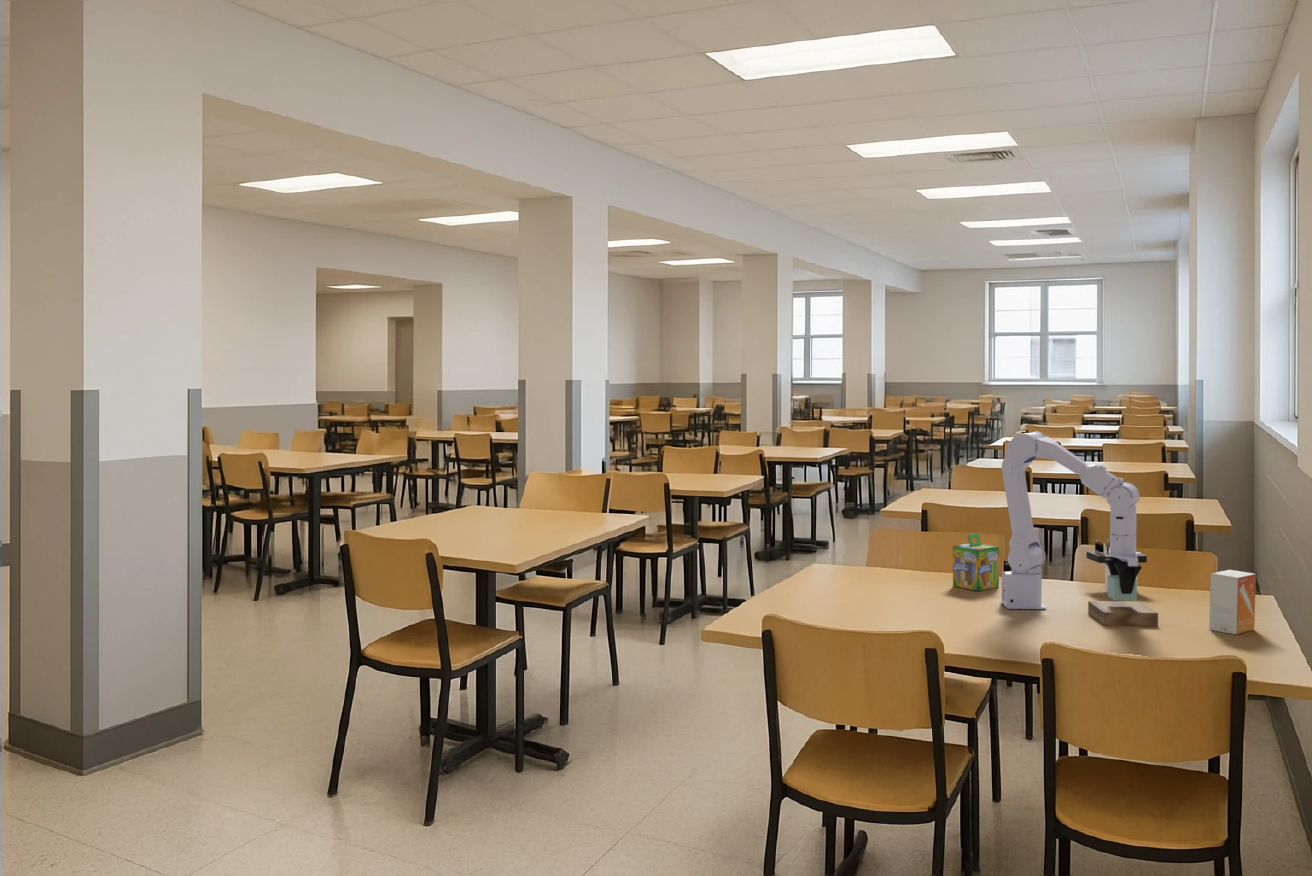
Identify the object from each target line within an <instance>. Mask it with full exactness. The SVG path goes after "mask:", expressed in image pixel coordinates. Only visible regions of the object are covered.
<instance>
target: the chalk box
mask: <svg viewBox="0 0 1312 876" xmlns="http://www.w3.org/2000/svg"><path fill="white" fill-rule="evenodd" d="M973 538H974V539H976V542H973ZM967 540H968V543H962V544H956V545H952V587H953V586H956V587H955V588H958V587H960V589H967V590H972V591H977V592H982V591H987V590H993V589H998V588H1000V582H999V581H1000V577H999V576H1000V547H998V546H993V545H989V544H982V543H981V537H980V534H979V533H978V532H975V533H970V534H969V533H968V534H967Z"/></svg>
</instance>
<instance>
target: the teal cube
mask: <svg viewBox="0 0 1312 876" xmlns="http://www.w3.org/2000/svg"><path fill="white" fill-rule="evenodd" d="M1107 597H1108V598H1110V599H1112V601H1137V600H1138V599H1137V597H1138V578H1137V579H1136V580H1135V583H1134V587H1133V591H1132V594H1122V592H1121V588H1120V581H1119V575H1108V593H1107Z"/></svg>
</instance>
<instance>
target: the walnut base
mask: <svg viewBox="0 0 1312 876" xmlns="http://www.w3.org/2000/svg"><path fill="white" fill-rule="evenodd" d="M1087 606H1088V607H1087V608H1088V609H1087V613H1088V615H1090V616H1091V617H1093V618H1094V619H1095V620H1096V621H1098V622H1099V623H1100V624H1102V625H1104V626H1142V627H1143V626H1147V627H1148V626H1149V627H1151V626H1156V627H1157V626H1159V612H1157V611H1156V610H1155V609H1153V608H1151V607H1149V606H1148V605H1146V604H1145V603H1143V602H1141V601H1137V600H1112V601H1111V600H1088V602H1087Z"/></svg>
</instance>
